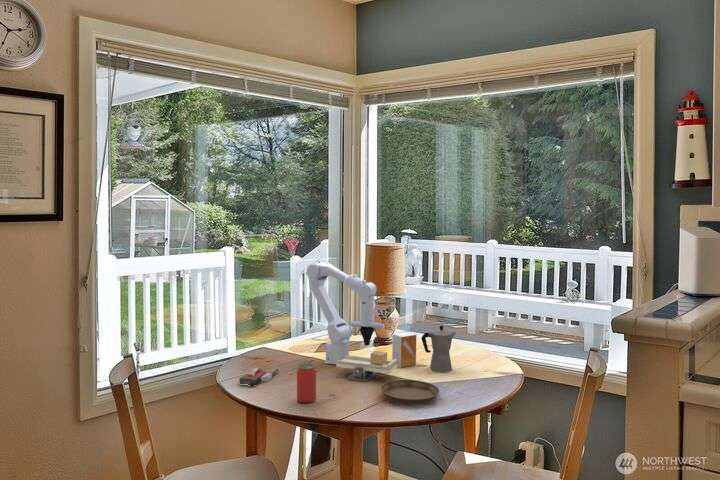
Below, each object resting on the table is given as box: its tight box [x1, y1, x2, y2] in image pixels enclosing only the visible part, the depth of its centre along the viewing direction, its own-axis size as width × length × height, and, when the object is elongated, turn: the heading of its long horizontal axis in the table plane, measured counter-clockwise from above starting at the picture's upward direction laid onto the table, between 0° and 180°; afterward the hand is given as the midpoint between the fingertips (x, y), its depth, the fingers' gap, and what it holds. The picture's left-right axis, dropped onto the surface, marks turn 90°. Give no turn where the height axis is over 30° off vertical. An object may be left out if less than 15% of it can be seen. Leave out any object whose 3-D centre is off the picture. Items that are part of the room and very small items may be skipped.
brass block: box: [370, 350, 388, 366], centre depth 233 cm, size 5×5×5 cm
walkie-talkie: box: [238, 367, 279, 387], centre depth 232 cm, size 9×4×20 cm
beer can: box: [296, 363, 317, 403], centre depth 207 cm, size 7×7×12 cm
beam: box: [335, 354, 398, 374], centre depth 236 cm, size 22×9×3 cm, turn 68°
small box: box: [391, 331, 417, 369], centre depth 251 cm, size 8×6×13 cm
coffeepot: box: [421, 325, 457, 373], centre depth 244 cm, size 15×9×18 cm, turn 110°
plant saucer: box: [380, 379, 440, 406], centre depth 212 cm, size 21×21×3 cm
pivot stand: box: [347, 367, 380, 383], centre depth 236 cm, size 8×15×4 cm, turn 158°
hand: (367, 345), depth 247 cm, fingers closed
